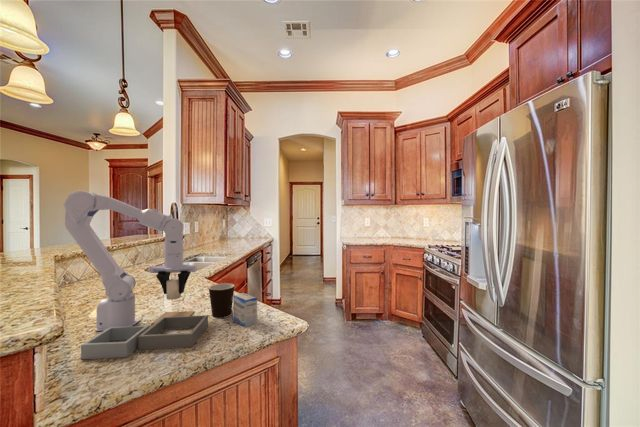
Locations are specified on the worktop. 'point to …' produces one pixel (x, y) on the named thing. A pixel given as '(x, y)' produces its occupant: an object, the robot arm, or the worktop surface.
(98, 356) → the slate bin
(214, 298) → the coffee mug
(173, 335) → the charcoal bin
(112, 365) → the worktop surface
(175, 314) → the tan board
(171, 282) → the cream capsule
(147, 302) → the worktop surface
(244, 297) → the medicine box
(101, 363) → the worktop surface
